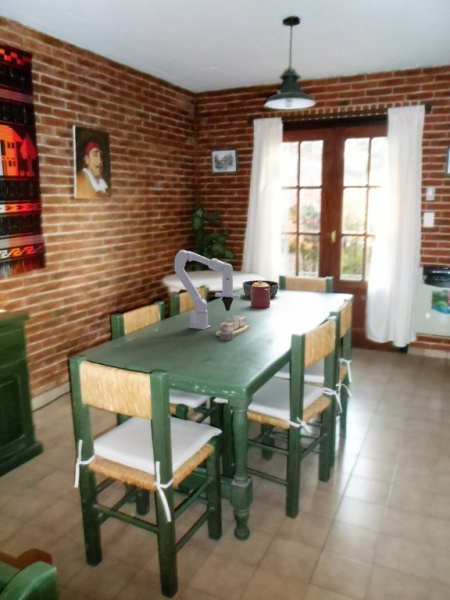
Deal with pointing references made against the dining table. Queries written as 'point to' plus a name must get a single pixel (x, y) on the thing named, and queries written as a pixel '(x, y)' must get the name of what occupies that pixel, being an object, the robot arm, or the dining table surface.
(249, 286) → the bundt pan
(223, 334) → the box
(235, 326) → the block
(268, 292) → the canister
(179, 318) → the dining table surface
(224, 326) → the board
